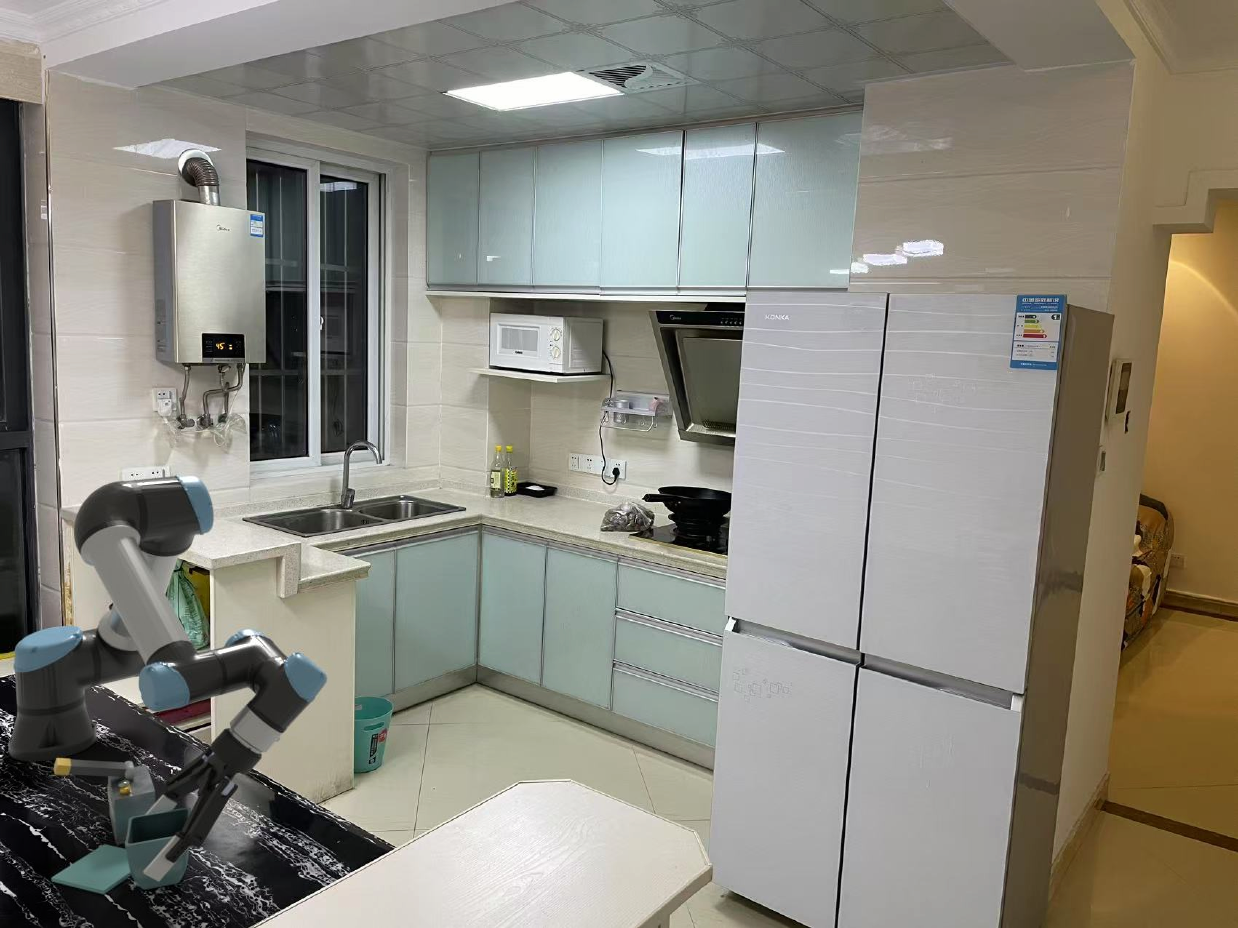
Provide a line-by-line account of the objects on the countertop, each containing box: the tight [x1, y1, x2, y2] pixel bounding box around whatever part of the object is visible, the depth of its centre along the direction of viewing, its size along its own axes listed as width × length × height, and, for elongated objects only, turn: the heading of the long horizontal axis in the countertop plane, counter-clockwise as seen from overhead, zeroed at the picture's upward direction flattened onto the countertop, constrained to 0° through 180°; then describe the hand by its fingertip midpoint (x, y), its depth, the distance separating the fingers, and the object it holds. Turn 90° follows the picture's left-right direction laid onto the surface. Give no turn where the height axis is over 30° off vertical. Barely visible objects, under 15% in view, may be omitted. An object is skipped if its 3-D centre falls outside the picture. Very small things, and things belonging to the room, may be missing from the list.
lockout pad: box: [50, 843, 132, 895], centre depth 145 cm, size 10×10×1 cm
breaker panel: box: [106, 764, 156, 846], centre depth 158 cm, size 6×11×9 cm, turn 34°
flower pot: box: [124, 807, 192, 890], centre depth 143 cm, size 9×9×9 cm
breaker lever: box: [53, 757, 136, 779], centre depth 156 cm, size 2×4×12 cm
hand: (144, 854), depth 142 cm, fingers open, 13 cm apart
